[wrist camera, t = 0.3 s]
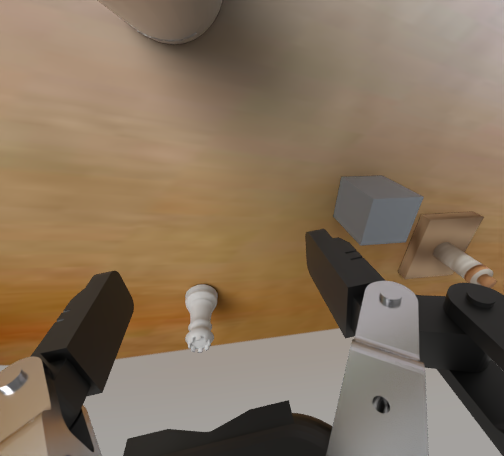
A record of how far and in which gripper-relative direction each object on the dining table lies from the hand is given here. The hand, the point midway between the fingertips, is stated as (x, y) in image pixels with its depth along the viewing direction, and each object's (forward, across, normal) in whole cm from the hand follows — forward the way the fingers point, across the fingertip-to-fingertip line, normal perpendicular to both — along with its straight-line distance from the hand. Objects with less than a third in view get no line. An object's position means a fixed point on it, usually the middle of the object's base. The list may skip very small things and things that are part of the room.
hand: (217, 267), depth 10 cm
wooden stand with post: (+18, -29, +17) cm, 38 cm away
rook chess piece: (+18, +6, +17) cm, 26 cm away
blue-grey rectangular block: (+18, -16, +7) cm, 25 cm away
